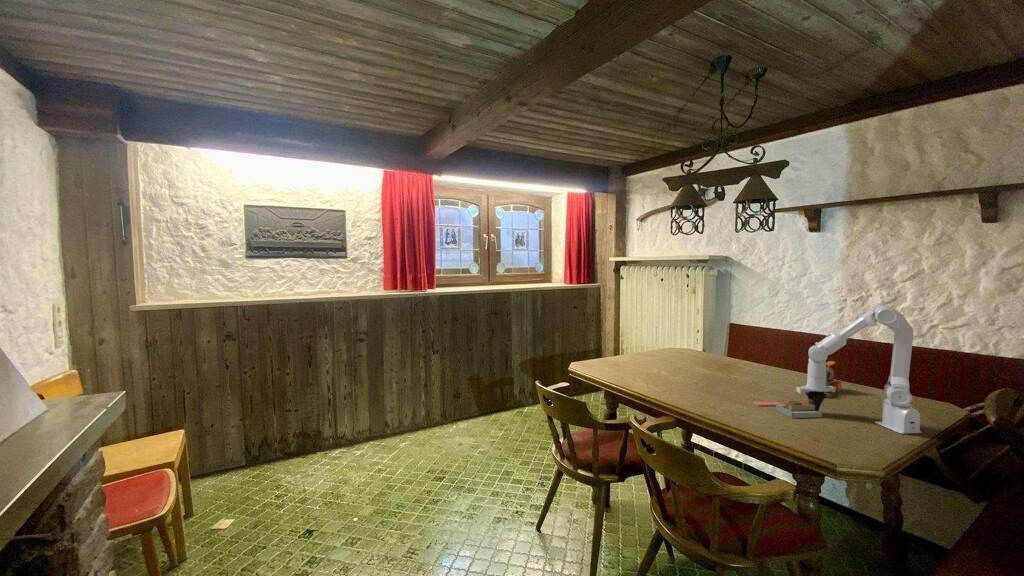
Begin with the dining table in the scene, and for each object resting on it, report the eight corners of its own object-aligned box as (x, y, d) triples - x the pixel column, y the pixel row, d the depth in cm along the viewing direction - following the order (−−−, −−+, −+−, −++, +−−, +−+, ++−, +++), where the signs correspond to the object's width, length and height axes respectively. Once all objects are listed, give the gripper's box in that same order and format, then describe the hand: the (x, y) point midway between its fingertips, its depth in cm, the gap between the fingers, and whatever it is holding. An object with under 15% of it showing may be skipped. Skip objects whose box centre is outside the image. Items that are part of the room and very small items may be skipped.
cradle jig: (821, 417, 154) (822, 412, 154) (791, 418, 153) (791, 413, 153) (804, 408, 162) (804, 404, 162) (775, 409, 161) (776, 405, 161)
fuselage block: (814, 415, 155) (815, 401, 155) (790, 415, 156) (791, 401, 155) (807, 411, 159) (808, 397, 159) (784, 411, 160) (785, 397, 159)
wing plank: (776, 404, 169) (776, 401, 169) (782, 407, 165) (782, 404, 165) (753, 404, 169) (753, 401, 169) (758, 407, 165) (758, 404, 165)
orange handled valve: (842, 390, 184) (843, 361, 183) (823, 399, 173) (824, 368, 172) (821, 385, 191) (822, 357, 190) (801, 394, 180) (802, 364, 179)
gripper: (825, 372, 161) (823, 405, 162) (791, 373, 160) (789, 406, 161) (840, 378, 154) (839, 412, 155) (805, 379, 153) (803, 413, 154)
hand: (814, 409), depth 158 cm, fingers closed
